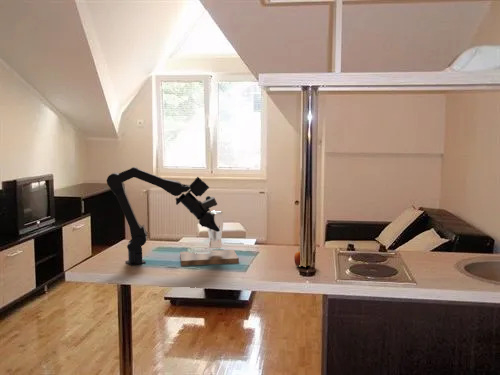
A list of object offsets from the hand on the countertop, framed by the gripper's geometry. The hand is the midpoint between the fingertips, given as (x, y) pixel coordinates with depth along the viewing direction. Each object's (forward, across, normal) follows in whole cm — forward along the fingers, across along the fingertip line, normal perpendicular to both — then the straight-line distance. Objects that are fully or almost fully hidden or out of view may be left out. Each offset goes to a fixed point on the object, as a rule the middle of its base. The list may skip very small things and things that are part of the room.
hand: (218, 229), depth 206 cm
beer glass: (+5, 0, +6) cm, 8 cm away
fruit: (+33, -18, -14) cm, 40 cm away
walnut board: (+6, 0, +12) cm, 14 cm away
